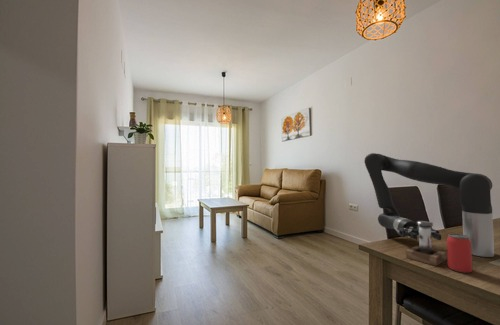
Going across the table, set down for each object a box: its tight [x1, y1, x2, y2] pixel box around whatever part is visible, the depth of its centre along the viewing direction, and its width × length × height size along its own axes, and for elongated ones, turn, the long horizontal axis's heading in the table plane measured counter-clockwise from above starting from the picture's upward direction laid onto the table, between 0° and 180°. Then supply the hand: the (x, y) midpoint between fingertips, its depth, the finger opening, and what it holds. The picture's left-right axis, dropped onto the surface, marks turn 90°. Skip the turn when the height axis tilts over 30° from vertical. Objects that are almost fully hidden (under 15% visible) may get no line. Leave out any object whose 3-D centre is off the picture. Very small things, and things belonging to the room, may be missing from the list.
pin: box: [416, 220, 434, 255], centre depth 95 cm, size 5×5×14 cm
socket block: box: [405, 245, 447, 267], centre depth 95 cm, size 10×10×3 cm
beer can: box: [446, 233, 473, 274], centre depth 85 cm, size 7×7×12 cm
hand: (428, 237), depth 93 cm, fingers open, 8 cm apart
